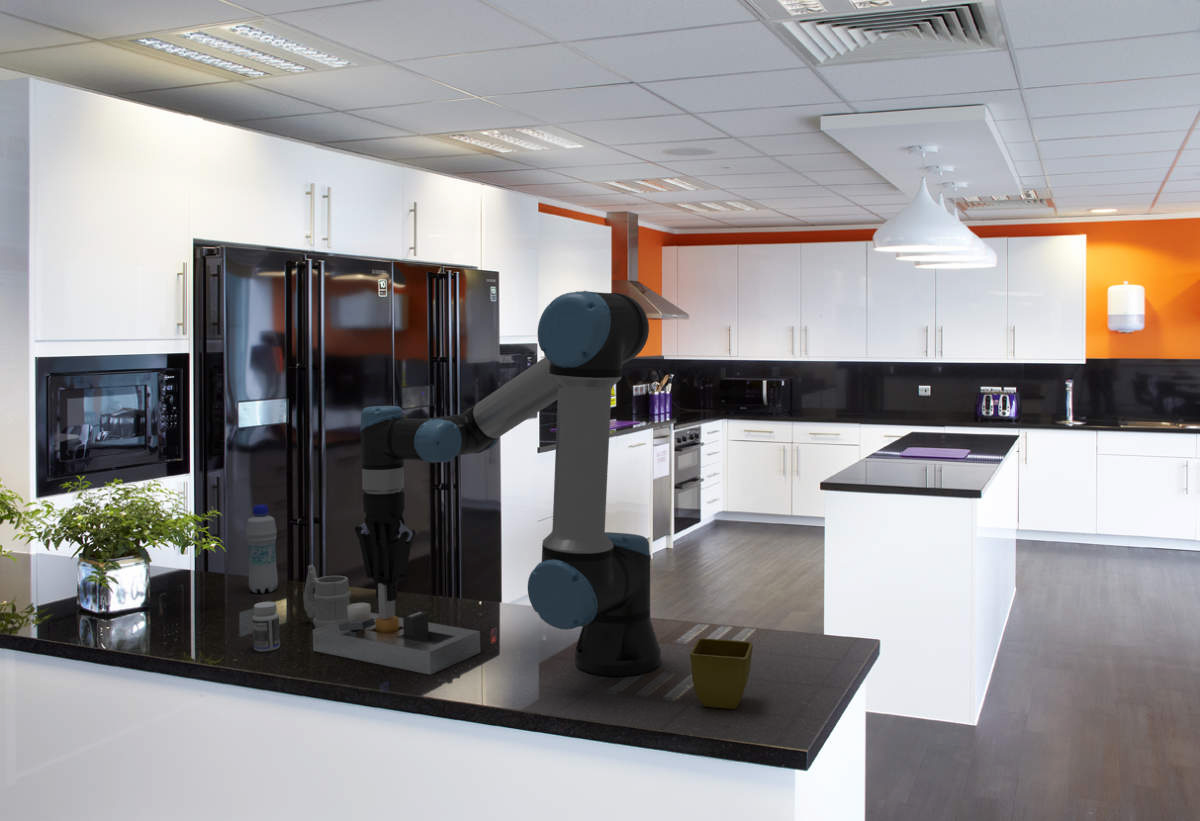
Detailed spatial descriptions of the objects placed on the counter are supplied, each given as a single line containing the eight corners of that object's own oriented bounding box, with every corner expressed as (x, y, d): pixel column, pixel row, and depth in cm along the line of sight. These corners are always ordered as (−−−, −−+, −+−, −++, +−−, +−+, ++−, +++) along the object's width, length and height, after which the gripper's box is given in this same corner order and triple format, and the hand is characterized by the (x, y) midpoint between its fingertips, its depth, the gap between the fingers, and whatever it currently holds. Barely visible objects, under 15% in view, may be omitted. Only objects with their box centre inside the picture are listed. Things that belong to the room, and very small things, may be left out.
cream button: (375, 620, 197) (375, 604, 197) (359, 625, 194) (359, 609, 193) (359, 617, 199) (358, 601, 199) (343, 622, 196) (342, 606, 196)
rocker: (375, 624, 190) (373, 618, 190) (363, 628, 187) (362, 622, 187) (351, 627, 193) (350, 620, 193) (339, 631, 191) (338, 624, 191)
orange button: (403, 633, 194) (403, 617, 194) (388, 638, 190) (388, 622, 190) (386, 629, 196) (386, 614, 196) (371, 635, 192) (370, 619, 192)
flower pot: (753, 696, 167) (753, 641, 166) (747, 715, 158) (746, 657, 158) (698, 692, 169) (698, 637, 168) (689, 711, 161) (689, 654, 160)
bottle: (285, 589, 240) (282, 503, 239) (261, 596, 234) (258, 508, 233) (265, 586, 244) (262, 501, 242) (241, 592, 238) (238, 505, 237)
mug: (332, 635, 203) (330, 574, 202) (290, 626, 210) (288, 567, 209) (361, 625, 210) (359, 566, 209) (319, 617, 216) (318, 560, 215)
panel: (480, 652, 191) (479, 628, 191) (430, 674, 179) (429, 648, 179) (366, 631, 205) (365, 608, 205) (313, 650, 193) (312, 626, 193)
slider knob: (428, 641, 191) (427, 612, 190) (413, 647, 187) (412, 617, 187) (419, 639, 192) (418, 610, 192) (404, 645, 188) (403, 616, 188)
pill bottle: (273, 642, 199) (271, 599, 198) (284, 648, 195) (282, 604, 195) (249, 648, 196) (247, 604, 195) (259, 653, 192) (258, 608, 192)
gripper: (424, 490, 191) (427, 616, 193) (371, 485, 198) (374, 608, 199) (396, 495, 184) (400, 627, 186) (342, 490, 191) (346, 617, 193)
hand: (387, 617), depth 193 cm, fingers closed
